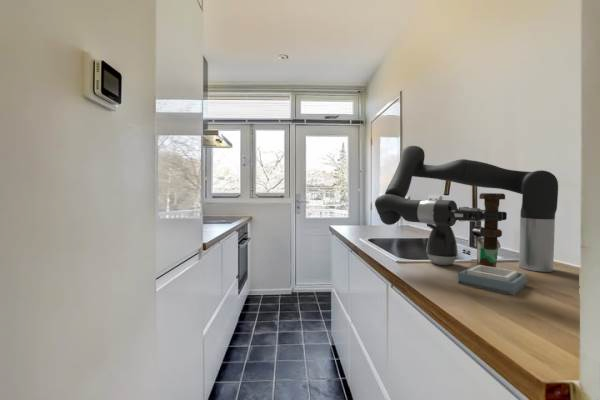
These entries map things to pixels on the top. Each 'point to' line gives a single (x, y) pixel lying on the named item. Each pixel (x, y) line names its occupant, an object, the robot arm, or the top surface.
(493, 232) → the bolt
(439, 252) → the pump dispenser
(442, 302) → the top surface
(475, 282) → the socket tray
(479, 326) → the top surface
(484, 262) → the food container
